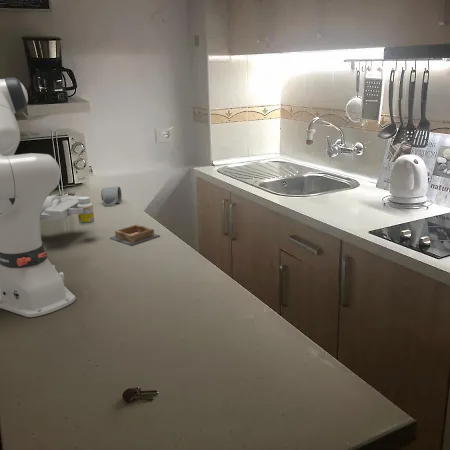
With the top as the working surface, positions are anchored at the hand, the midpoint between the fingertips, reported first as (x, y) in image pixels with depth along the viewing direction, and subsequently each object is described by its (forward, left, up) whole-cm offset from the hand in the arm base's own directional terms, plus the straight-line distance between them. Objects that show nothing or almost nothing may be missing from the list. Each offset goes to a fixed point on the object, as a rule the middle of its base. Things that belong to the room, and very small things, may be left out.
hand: (87, 208), depth 185 cm
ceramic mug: (+38, -36, -12) cm, 54 cm away
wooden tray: (-11, -12, -12) cm, 20 cm away
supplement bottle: (+1, 0, -6) cm, 6 cm away
